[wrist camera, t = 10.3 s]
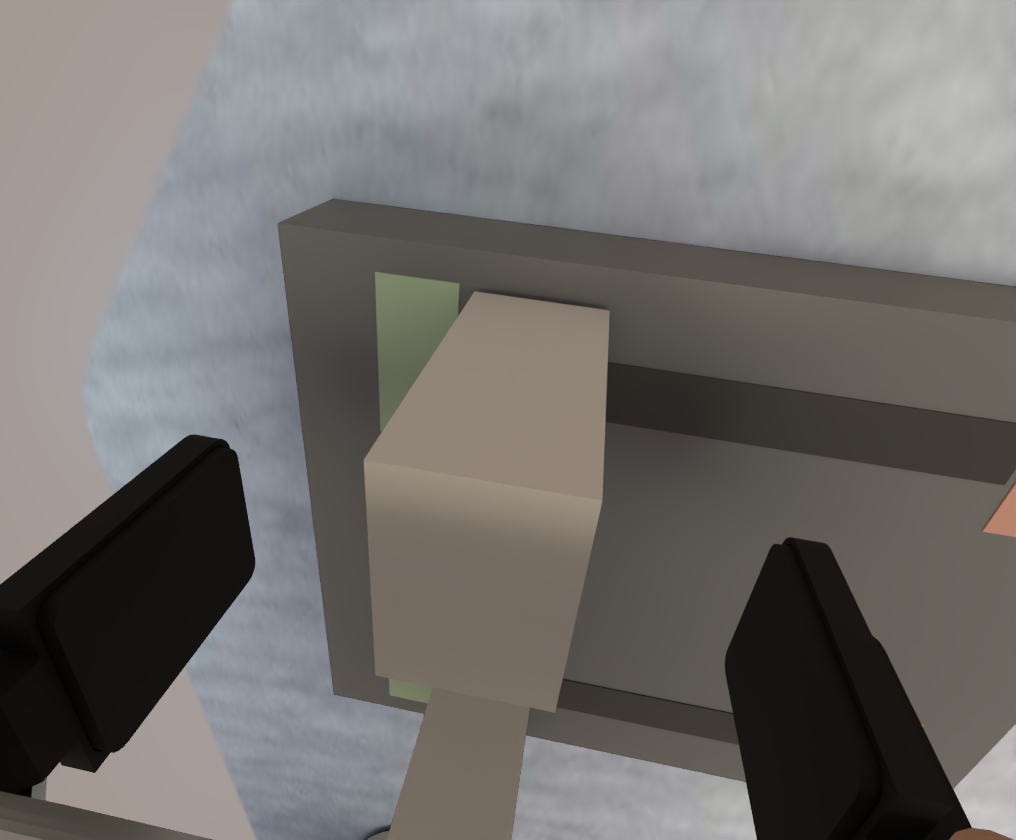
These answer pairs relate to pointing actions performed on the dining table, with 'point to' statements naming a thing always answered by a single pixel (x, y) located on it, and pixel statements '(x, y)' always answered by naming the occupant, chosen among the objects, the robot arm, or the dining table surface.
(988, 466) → the breaker panel
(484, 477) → the block
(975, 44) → the dining table surface
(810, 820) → the robot arm
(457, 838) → the block
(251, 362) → the dining table surface
